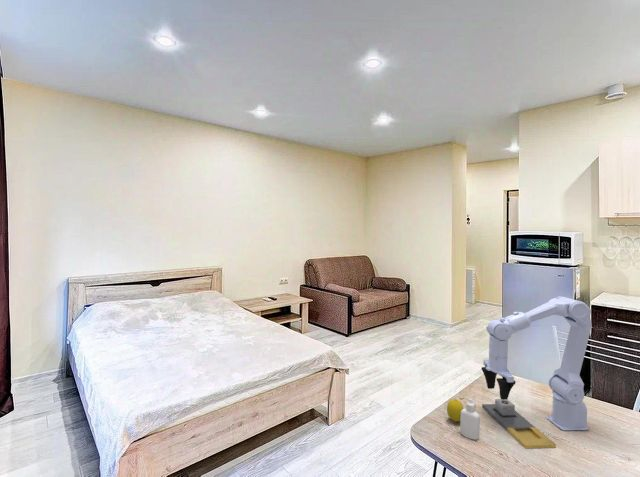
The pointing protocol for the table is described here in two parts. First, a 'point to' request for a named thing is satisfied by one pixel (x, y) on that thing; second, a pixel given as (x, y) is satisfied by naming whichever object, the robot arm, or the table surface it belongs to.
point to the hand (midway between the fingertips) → (497, 393)
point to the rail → (518, 424)
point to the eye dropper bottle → (470, 421)
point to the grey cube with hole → (504, 408)
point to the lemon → (454, 409)
